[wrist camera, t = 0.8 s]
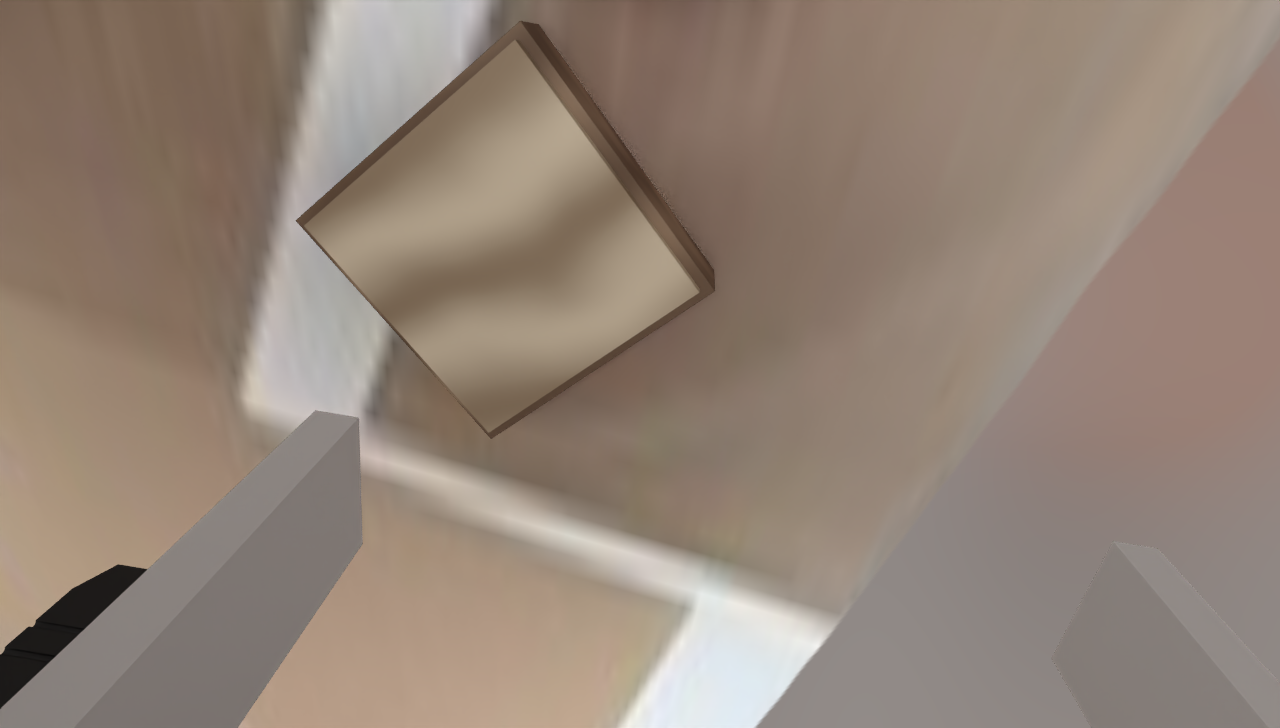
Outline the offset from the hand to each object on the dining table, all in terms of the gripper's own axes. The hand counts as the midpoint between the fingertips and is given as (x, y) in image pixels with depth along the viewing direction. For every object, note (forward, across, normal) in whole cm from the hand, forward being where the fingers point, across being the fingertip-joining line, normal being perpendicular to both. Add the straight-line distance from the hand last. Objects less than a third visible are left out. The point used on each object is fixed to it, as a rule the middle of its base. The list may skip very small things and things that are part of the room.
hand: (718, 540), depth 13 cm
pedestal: (+25, -9, -2) cm, 26 cm away
